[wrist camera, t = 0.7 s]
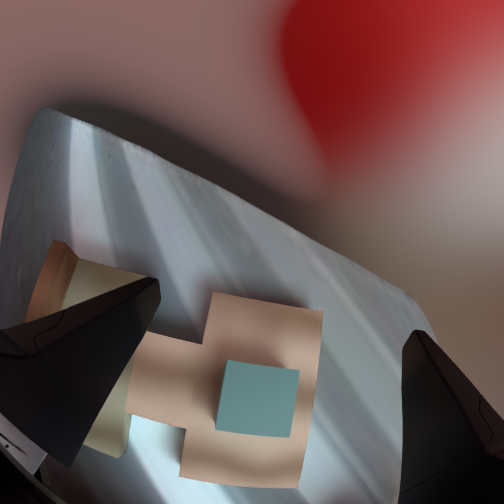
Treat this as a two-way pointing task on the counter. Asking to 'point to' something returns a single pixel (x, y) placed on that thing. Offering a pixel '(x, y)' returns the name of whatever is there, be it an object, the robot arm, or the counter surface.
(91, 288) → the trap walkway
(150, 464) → the counter surface
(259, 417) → the teal block
